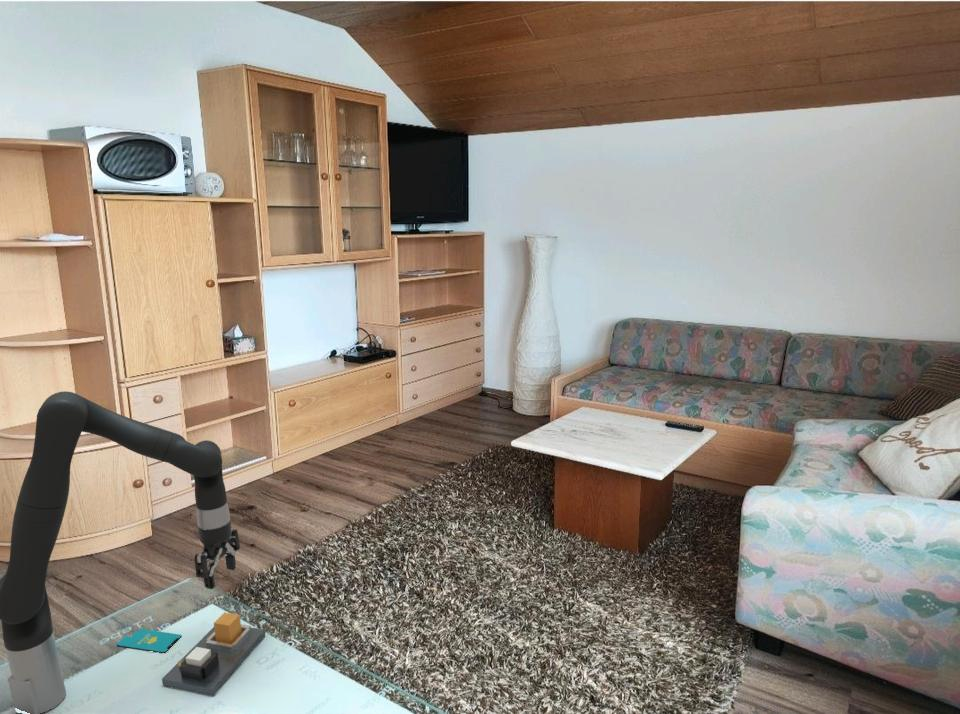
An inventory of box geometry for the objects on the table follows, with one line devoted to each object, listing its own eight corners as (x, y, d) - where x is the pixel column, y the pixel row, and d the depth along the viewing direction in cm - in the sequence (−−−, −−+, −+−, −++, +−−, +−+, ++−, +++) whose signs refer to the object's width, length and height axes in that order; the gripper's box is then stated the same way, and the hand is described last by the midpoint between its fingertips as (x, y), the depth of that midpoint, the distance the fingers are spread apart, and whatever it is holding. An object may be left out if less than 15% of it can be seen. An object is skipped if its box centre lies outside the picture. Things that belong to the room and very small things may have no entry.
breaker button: (201, 674, 159) (199, 660, 158) (187, 671, 160) (185, 657, 159) (212, 663, 163) (210, 649, 162) (198, 660, 164) (196, 646, 163)
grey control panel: (213, 696, 156) (210, 678, 155) (162, 685, 160) (160, 668, 158) (265, 636, 177) (263, 620, 175) (219, 628, 180) (217, 612, 179)
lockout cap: (231, 645, 170) (228, 625, 169) (216, 643, 171) (213, 623, 170) (241, 634, 174) (239, 614, 173) (227, 632, 175) (224, 612, 174)
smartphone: (134, 627, 180) (182, 634, 177) (134, 629, 181) (183, 636, 177) (114, 645, 174) (164, 652, 170) (115, 647, 174) (165, 655, 171)
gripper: (218, 505, 172) (225, 561, 176) (181, 532, 158) (189, 592, 162) (244, 508, 170) (250, 565, 174) (208, 536, 156) (216, 597, 161)
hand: (221, 578), depth 168 cm, fingers open, 8 cm apart
